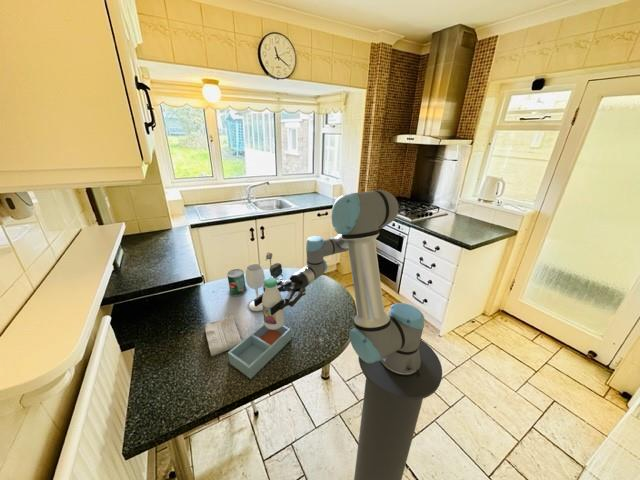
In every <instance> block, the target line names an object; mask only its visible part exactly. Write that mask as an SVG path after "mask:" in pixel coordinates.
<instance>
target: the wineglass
mask: <svg viewBox="0 0 640 480" xmlns="http://www.w3.org/2000/svg"><path fill="white" fill-rule="evenodd" d="M265 280H266V278H265V272H264V269H263V266H262V265H261V264H260V263H251V264H248V265H247V266H246V268H245V283H246V284H247V286H248V287H249V288H250V289H252V290H255V297H256V298H258V297H259V296H260V295H259V289H260V288H262V287H263V286H264V281H265ZM256 298H255V299H256ZM248 308H249V309H250V310H251V311H253V312H261V311H263V306H262V303H261V304H259V305H258V306H255V304H254V300H253V301H251V302H250V303H249V305H248Z"/></svg>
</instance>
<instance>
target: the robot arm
mask: <svg viewBox="0 0 640 480" xmlns="http://www.w3.org/2000/svg"><path fill="white" fill-rule="evenodd" d="M399 208H400V207H399V202H398V200H397V198H396V197H395V196H394V195H393V194H392V193H390V192H389V191H387V190H383V189H375V190H369V191H360V192H353V193H352V192H351V193H348V194H344V195H341V196H339V197H337V198H336V200H335V201H334V203H333V205H332V208H331V214H330V215H331V224H332V227H333V228H334V231H335V232H336V234H337V235H336V236H334V237H331V238H326V239H325V238H323V237H321V236H318V235H316V236H315V235H313V236H309V237H308V238H307V239H306V243H305V244H306V248H305V249H306V265H305V266H304V267H303V268H301V269H300V270H298V271H296V272H295V273H293V274H291V276H289V278H288V279H286V280H283V277H280V278H279V279H277V280H278V281H277V288H278V290H279V292H280V293H281V292H282V293H284V292H287V293H288V294H287V295H286V297H285V298H284V299H283V298H282V300H281V301H280V302H278V303H277V304H276V305H274V306H273V307H272V308H270V311H271V315H274V314H275V313H276V312H277V311H279V310H282V309H283V310H284V308H286V307H288V306H289V307H290V308H293V307H294V306H295V305H296V304H297V303H298V302H299V300H300V299H301V298H302V297H304V296H305V295H306V294H307V292H306V291H307V289H306V288H307V287H308V286H310V285H311V284H313V282H314V281H316V280H317V279H319V278H320V277H321V276H323V275H324V274H325V273H326V271H327V270H328V264H327V261H326V260H325V259H324V257H329V256H332V255H335V254H340V253H346V252H348V256H349V263H350V270H351V276H352V284H353V291H354V297H355V304H356V311H357V312H356V313H357V314H356V315H355V316H354V317H353V321H354V322H353V323H354V327H352V328H351V329H350V330H349V332H348V338H349V341H350V345H351V347H352V349H353V351H354V352H355V353H356V355H357V356H358V358H359V357H360V358H361V359H362V360H363V361H365V362H367V363H373V362H376V361H380V362H381V364H382V365H383V367H384V368H385V369H386V370H388V371H389V372H391V373H393V374H395V375H398V376H412V375H414V374H415V373H418V375H419V376H420V375H421V374H420V372H419V371H418V370H419V368H420V364H421V358H420V353H419V344H420V340H422V335H423V331H424V328H425V316H424V314H423V313H422V310H420V309H419V308H417V307H415V306H414V305H412V304H409V303H405V302H396V303H393V304H392V305H391V306H390V308H389V313H387V312H386V311H385V306H384V299H383V291H382V284H381V283H382V282H381V275H380V268H379V259H378V252H377V245H376V239H377V238H378V237H379V235H380V229H383V228H386V226H388V225H390V224H391V223H392V222H394V221H395V220H396V218H397V217H398V214H399ZM264 292H265V286H264V287H263V292H262V293H261V294H259V295H258V296H259V297H258V298H255V299H254V300H253V301H254V304H255V306H258V305H259V304H261V303H262V298H263V294H264Z"/></svg>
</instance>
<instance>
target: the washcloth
mask: <svg viewBox="0 0 640 480" xmlns="http://www.w3.org/2000/svg"><path fill="white" fill-rule="evenodd" d="M204 330H205V336H206V341H207V344H208V348H209V349H208V350H209V353H210V357H215V356H218V355H220V354H222V353H224V352H226V351H230V350H232V349H233V348H234V347H235V346H236V345H238V344H239V343H240V342H241V341H242V339H241V335H240V333H239V329H238V327H237V323H236V320H235V317H234V316H233V315H228V316H226V317H224V318H220V319H217V320H213V321H210V322H207V323H206V324H205V327H204Z"/></svg>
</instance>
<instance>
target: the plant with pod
mask: <svg viewBox="0 0 640 480" xmlns="http://www.w3.org/2000/svg"><path fill="white" fill-rule="evenodd" d="M272 259H273V253H272V252H266V255H265V261H268V260H269V264H270V266H269V273H270V277H272V278H275V279H276V280H277V281H278V280H279V279H278V277H280V276H281V277H284V275H283V268H282V267H283V266H282V263H279V262H275V263H273V264H272Z"/></svg>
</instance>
